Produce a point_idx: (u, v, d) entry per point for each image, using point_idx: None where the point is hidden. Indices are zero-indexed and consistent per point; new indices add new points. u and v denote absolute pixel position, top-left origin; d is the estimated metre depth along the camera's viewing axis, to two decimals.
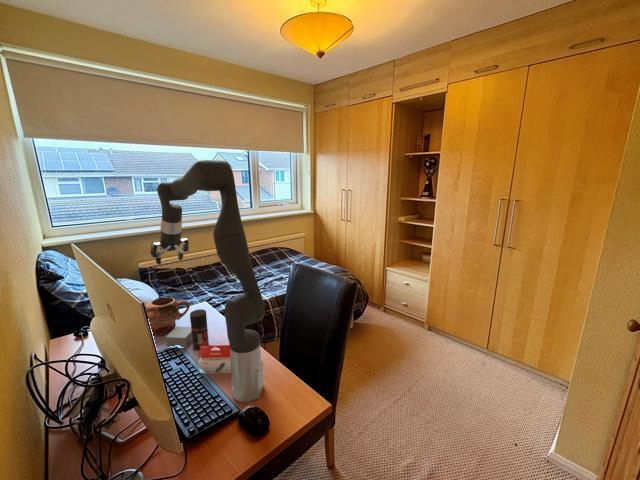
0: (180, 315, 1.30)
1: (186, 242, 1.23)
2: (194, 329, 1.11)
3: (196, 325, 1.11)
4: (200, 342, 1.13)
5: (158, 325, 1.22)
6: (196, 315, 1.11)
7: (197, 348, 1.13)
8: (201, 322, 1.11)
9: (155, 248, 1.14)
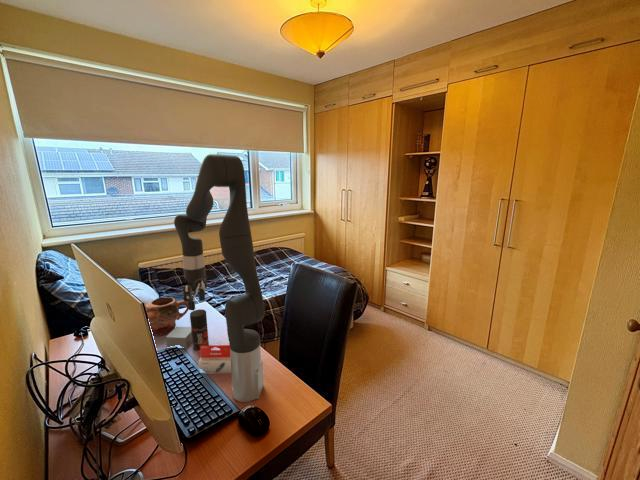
0: (180, 315, 1.30)
1: (205, 277, 1.16)
2: (194, 329, 1.11)
3: (196, 325, 1.11)
4: (200, 342, 1.13)
5: (158, 325, 1.22)
6: (196, 315, 1.11)
7: (197, 348, 1.13)
8: (201, 322, 1.11)
9: (190, 290, 1.04)
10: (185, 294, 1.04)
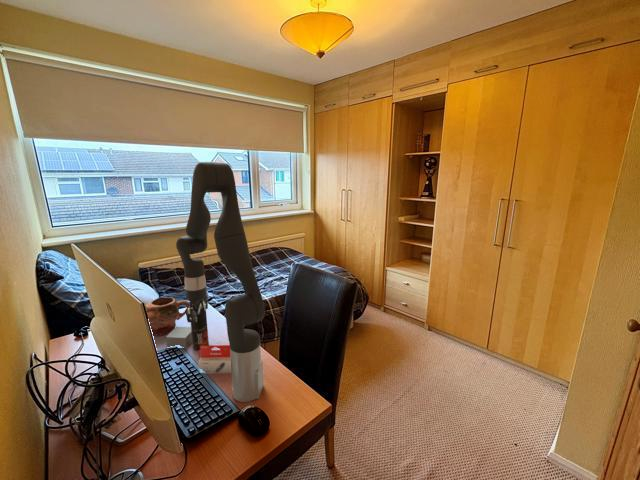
0: (180, 315, 1.30)
1: (206, 297, 1.18)
2: None
3: None
4: (200, 342, 1.13)
5: (158, 325, 1.22)
6: None
7: (197, 348, 1.13)
8: (201, 322, 1.11)
9: (193, 312, 1.06)
10: (188, 316, 1.06)
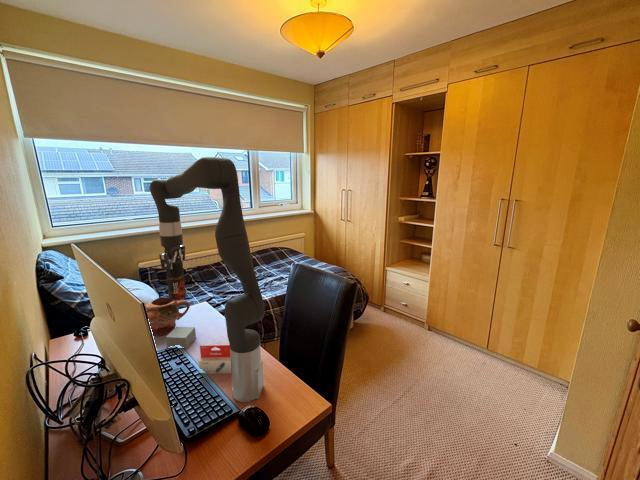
0: (180, 315, 1.30)
1: (183, 248, 1.15)
2: None
3: None
4: (176, 291, 1.11)
5: (158, 325, 1.22)
6: None
7: (173, 298, 1.11)
8: (176, 270, 1.09)
9: (167, 258, 1.04)
10: (162, 262, 1.04)
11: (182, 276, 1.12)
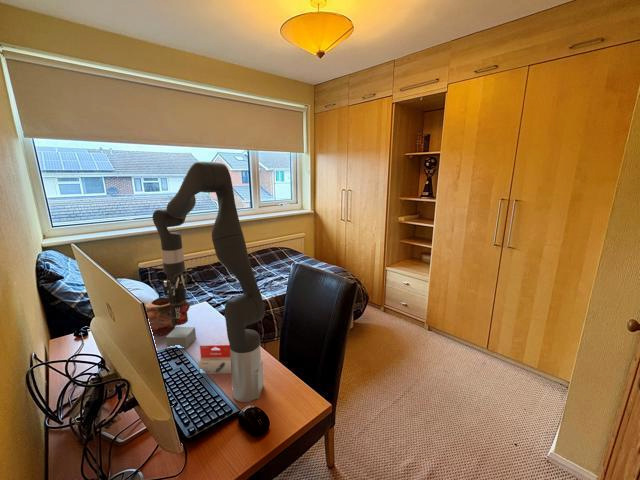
0: None
1: (185, 273, 1.18)
2: None
3: None
4: (178, 316, 1.13)
5: (158, 325, 1.22)
6: None
7: (175, 323, 1.13)
8: (178, 296, 1.11)
9: (170, 285, 1.06)
10: (165, 289, 1.06)
11: (184, 301, 1.14)
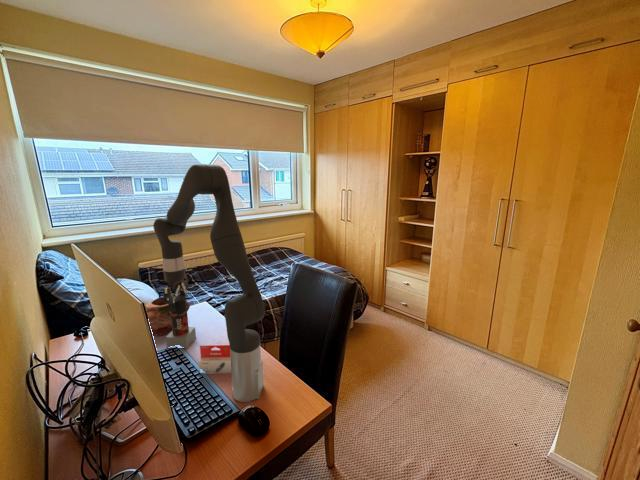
0: None
1: (186, 279, 1.19)
2: (173, 314, 1.12)
3: (175, 310, 1.12)
4: (179, 327, 1.14)
5: (158, 325, 1.22)
6: (175, 300, 1.12)
7: (176, 333, 1.14)
8: (180, 307, 1.12)
9: (170, 292, 1.07)
10: (165, 296, 1.07)
11: (185, 312, 1.15)
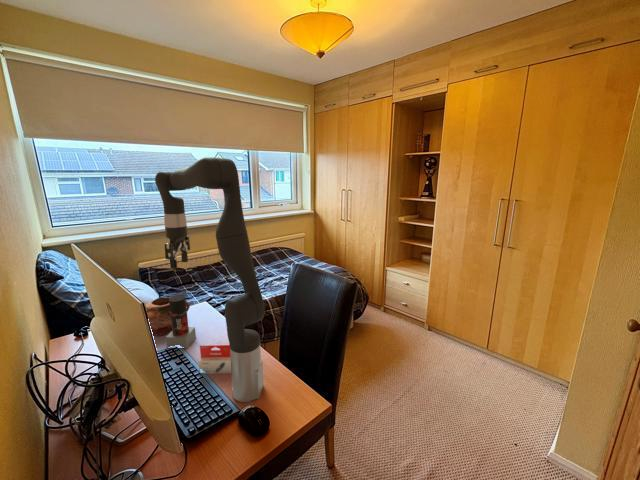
0: None
1: (188, 239, 1.17)
2: (173, 314, 1.12)
3: (175, 310, 1.12)
4: (179, 327, 1.14)
5: (158, 325, 1.22)
6: (174, 300, 1.12)
7: (176, 333, 1.14)
8: (179, 307, 1.12)
9: (172, 247, 1.05)
10: (166, 251, 1.05)
11: (185, 312, 1.15)
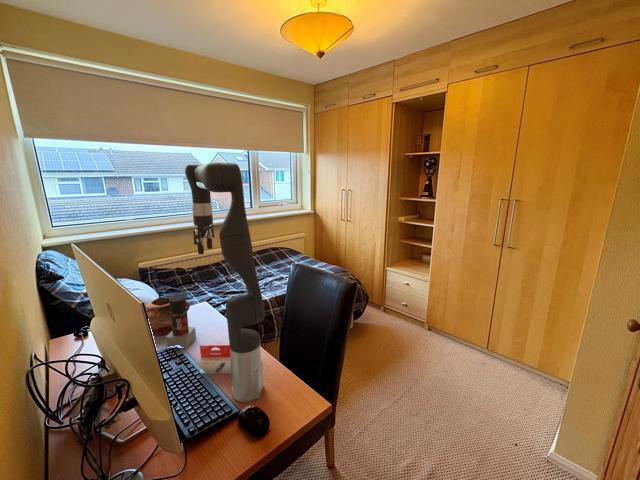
0: None
1: (212, 227, 1.26)
2: (173, 314, 1.12)
3: (175, 310, 1.12)
4: (179, 327, 1.14)
5: (158, 325, 1.22)
6: (175, 300, 1.12)
7: (176, 333, 1.14)
8: (180, 307, 1.12)
9: (200, 234, 1.15)
10: (195, 237, 1.14)
11: (185, 312, 1.15)
